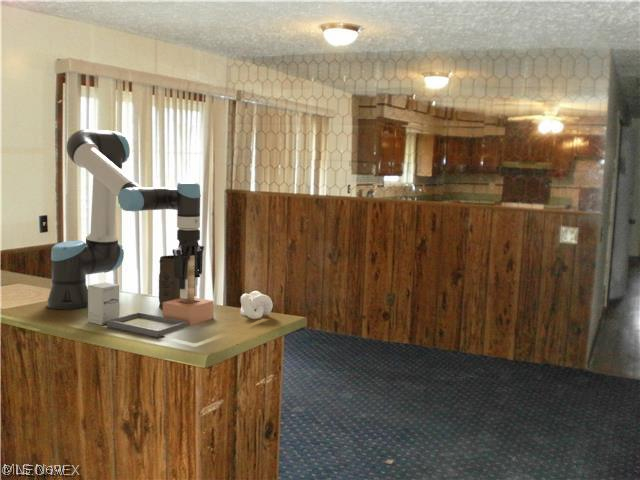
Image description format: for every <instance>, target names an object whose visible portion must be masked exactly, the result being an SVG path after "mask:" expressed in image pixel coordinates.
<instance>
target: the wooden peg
mask: <svg viewBox="0 0 640 480" xmlns="http://www.w3.org/2000/svg"><path fill="white" fill-rule="evenodd" d="M183 257H187V256H183ZM182 276H183V275H182ZM186 279H187V280H188V299H183V298H182V303H183V304H189V305H190V304H193V303H194V298H195V297H194V283H195V255H191V256H190V259H189V260H188V267H187V274H186Z"/></svg>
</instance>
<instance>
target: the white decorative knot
mask: <svg viewBox="0 0 640 480" xmlns="http://www.w3.org/2000/svg"><path fill="white" fill-rule="evenodd" d="M240 304H241V305H240V306H241V307H240V315H241V316H245V317H248V318H249V319H252V320H256V319H261V318H262V317H263V316H268V315H269V314H270V313H271V311H272V310H273V308H274V307H273V300H272V299H271V297H270V296H268V295H267V294H263V293H261V292H260V291H259V290H254V291H251V292H250V293H243V294H242V295H241V296H240Z"/></svg>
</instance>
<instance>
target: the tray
mask: <svg viewBox="0 0 640 480" xmlns="http://www.w3.org/2000/svg"><path fill="white" fill-rule="evenodd" d="M137 318H142V319H146V320H152V321H156V322H161V323H166V324H170V326H166V327H163V328H159V329H154V328H149V327H145V326H140V325H136V324H131V323H126V322H125V321H130V320H133V319H137ZM171 324H172V325H171ZM186 327H189V325H188V321H183V320H178V319H173V318H167V317H163V315H157V314H151V313H146V312H141V311H137V312H134V313H130V314H126V315H123V316H119V317H118V318H114V319H110V320H107V321H106V328H107V329H111V330H116V331H119V330H120V332H125V333H130V334H133V335H138V336H143V337H146V338H147V337H148V338H152V339H157V340H159V339H163V338H165V337H166V335H165V334H169V333H170V332H171V333H172V332H175V331H177V330H181V329H183V328H186Z"/></svg>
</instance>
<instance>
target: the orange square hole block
mask: <svg viewBox="0 0 640 480" xmlns="http://www.w3.org/2000/svg"><path fill="white" fill-rule="evenodd" d="M214 302H215V301H214V300H210V299H209V300H208V299H205V298H199V297H194V303H193V304H190V305H189V304H183V303H182V298H178V299H174V300H171V301H167V302H163V309H162V317H167V318H173V319H178V320H183V321H188V326H193V325H197V324H199V323H203V322H205V321H209V320H211V319H214Z"/></svg>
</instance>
